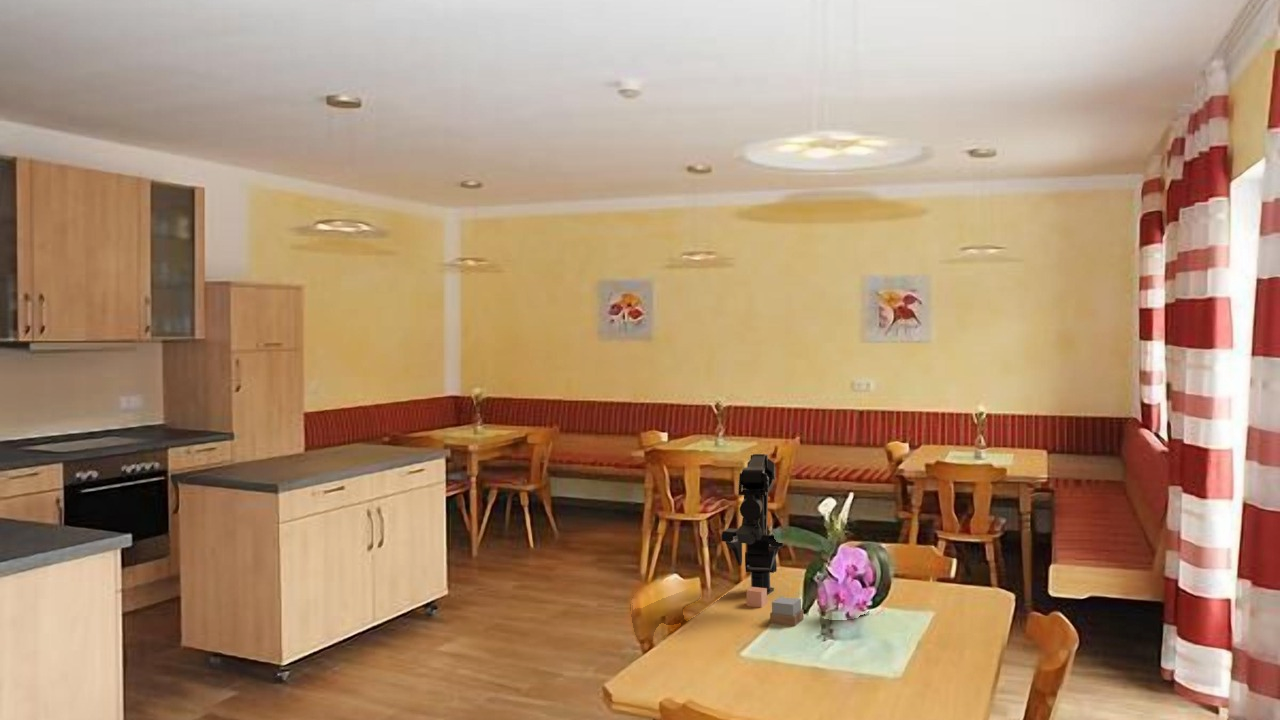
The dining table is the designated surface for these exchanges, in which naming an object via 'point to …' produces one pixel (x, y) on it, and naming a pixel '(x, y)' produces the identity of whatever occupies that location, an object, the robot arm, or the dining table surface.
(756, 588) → the terracotta cube
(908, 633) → the dining table surface
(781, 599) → the slate block
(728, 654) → the dining table surface
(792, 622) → the walnut block
